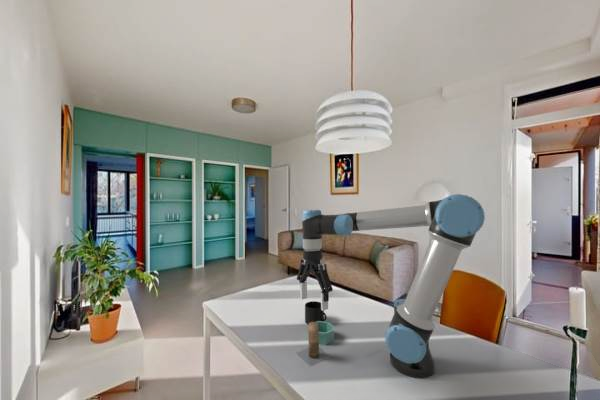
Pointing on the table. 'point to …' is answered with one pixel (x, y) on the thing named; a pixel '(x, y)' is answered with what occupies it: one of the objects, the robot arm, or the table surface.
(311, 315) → the mug
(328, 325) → the teal octagonal bowl
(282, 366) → the table surface
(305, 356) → the coaster
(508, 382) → the table surface
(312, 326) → the dowel
